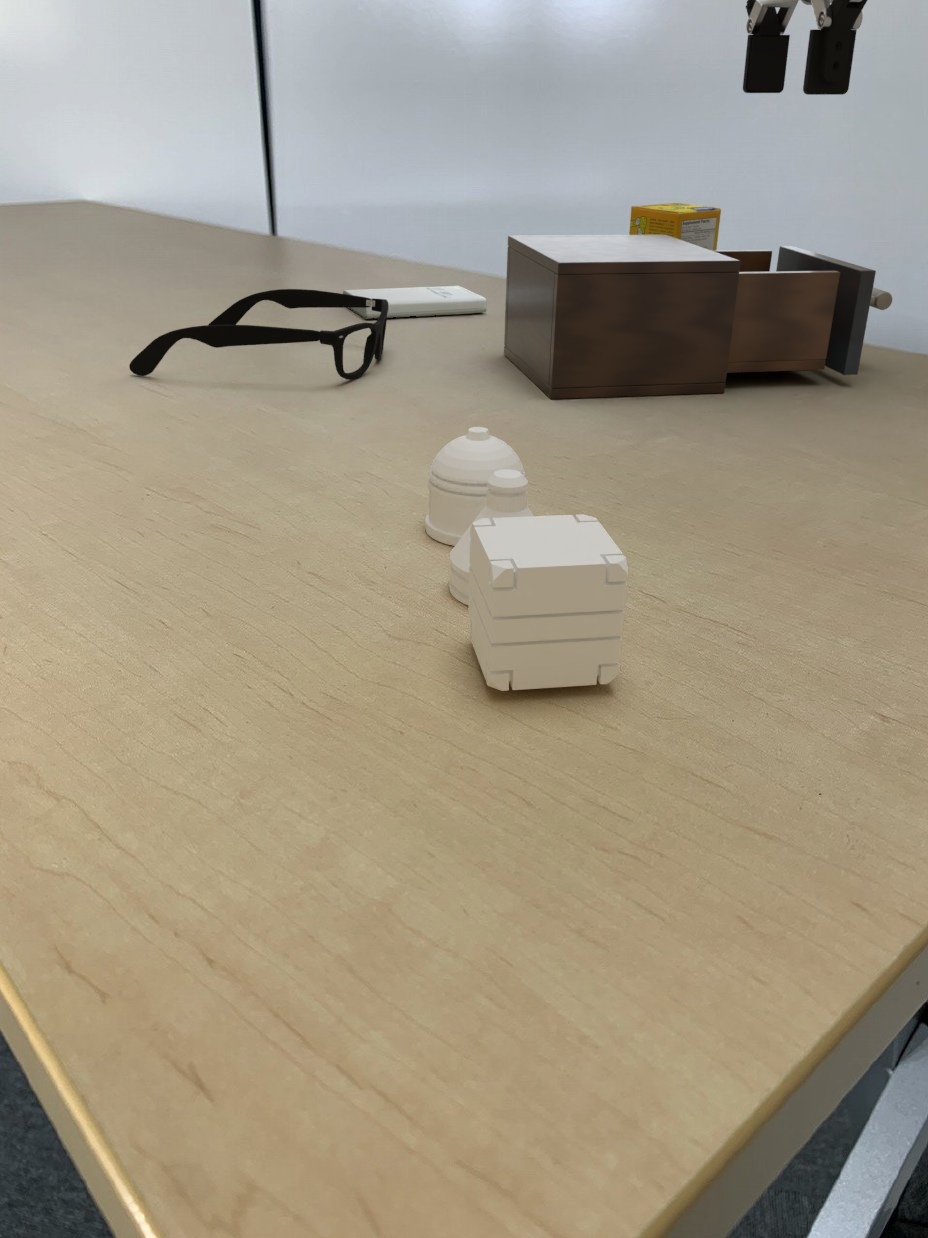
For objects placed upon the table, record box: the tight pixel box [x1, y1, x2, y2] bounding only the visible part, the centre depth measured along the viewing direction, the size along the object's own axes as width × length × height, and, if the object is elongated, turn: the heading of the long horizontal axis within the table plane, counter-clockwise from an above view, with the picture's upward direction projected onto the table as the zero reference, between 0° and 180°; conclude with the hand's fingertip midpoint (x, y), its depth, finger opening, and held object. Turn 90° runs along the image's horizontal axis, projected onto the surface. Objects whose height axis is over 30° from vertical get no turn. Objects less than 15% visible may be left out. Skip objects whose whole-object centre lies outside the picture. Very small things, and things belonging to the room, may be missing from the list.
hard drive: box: [342, 285, 488, 320], centre depth 110 cm, size 2×8×12 cm
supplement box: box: [628, 202, 722, 250], centre depth 102 cm, size 6×6×11 cm
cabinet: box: [503, 234, 741, 400], centre depth 86 cm, size 14×15×10 cm
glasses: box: [128, 288, 388, 381], centre depth 88 cm, size 17×18×5 cm
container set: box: [424, 426, 630, 692], centre depth 49 cm, size 20×5×6 cm, turn 9°
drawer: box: [711, 245, 893, 376], centre depth 89 cm, size 17×13×8 cm
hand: (792, 93), depth 81 cm, fingers open, 9 cm apart
